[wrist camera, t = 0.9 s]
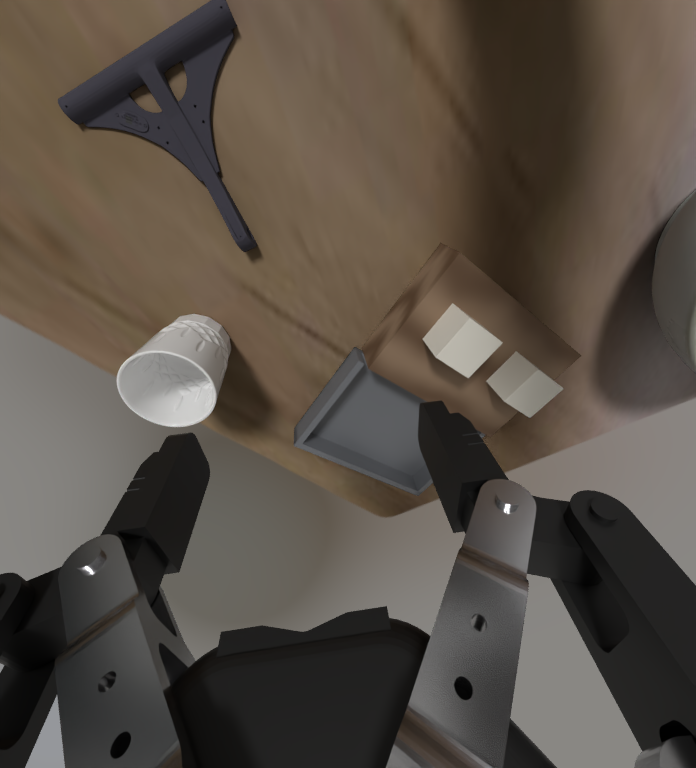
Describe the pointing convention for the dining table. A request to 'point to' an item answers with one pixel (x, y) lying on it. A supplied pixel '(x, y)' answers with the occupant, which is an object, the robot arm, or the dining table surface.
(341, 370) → the tray
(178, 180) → the dining table surface
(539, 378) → the off-white cube
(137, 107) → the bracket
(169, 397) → the white cup
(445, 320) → the cream cube
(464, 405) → the walnut board
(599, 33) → the dining table surface
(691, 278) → the decorative bowl
